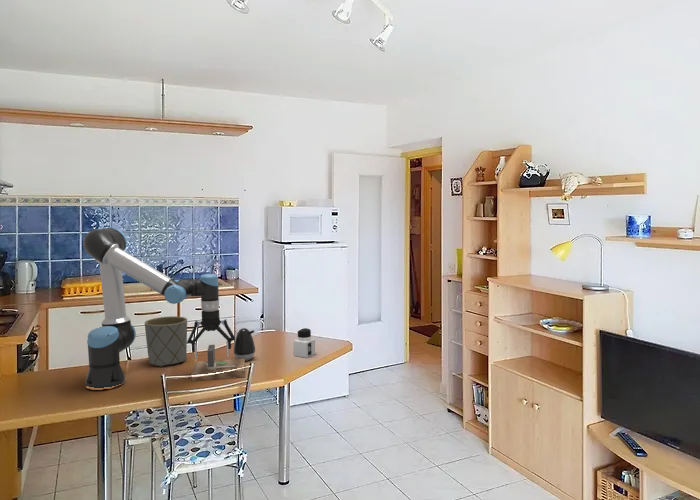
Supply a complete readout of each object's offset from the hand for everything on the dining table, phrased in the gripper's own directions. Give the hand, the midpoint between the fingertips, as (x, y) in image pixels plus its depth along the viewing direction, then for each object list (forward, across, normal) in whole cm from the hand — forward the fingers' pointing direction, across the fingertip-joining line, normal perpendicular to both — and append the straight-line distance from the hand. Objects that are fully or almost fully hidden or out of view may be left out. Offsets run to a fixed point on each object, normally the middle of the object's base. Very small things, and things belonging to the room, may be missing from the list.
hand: (212, 357), depth 236 cm
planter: (+8, -22, +22) cm, 32 cm away
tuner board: (+7, +3, 0) cm, 8 cm away
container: (+8, +43, +19) cm, 48 cm away
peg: (+4, +4, -4) cm, 7 cm away
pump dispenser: (+8, +14, +18) cm, 24 cm away
